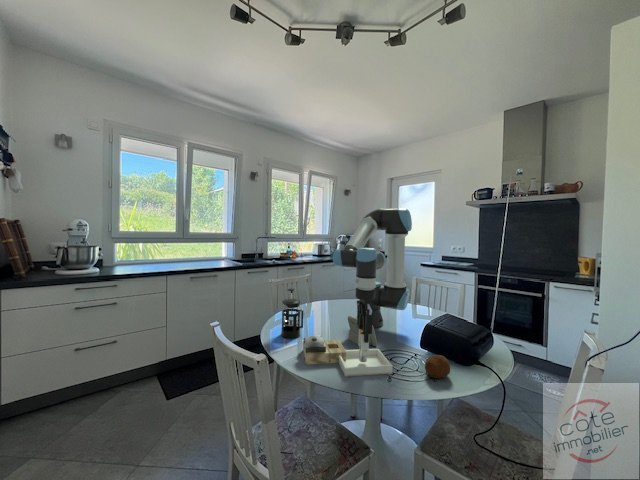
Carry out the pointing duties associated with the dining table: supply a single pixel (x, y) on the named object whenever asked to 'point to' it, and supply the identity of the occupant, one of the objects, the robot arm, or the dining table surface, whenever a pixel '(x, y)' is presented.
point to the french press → (290, 326)
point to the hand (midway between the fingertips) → (363, 347)
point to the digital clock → (355, 332)
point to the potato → (437, 366)
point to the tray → (365, 363)
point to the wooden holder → (322, 350)
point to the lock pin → (362, 352)
